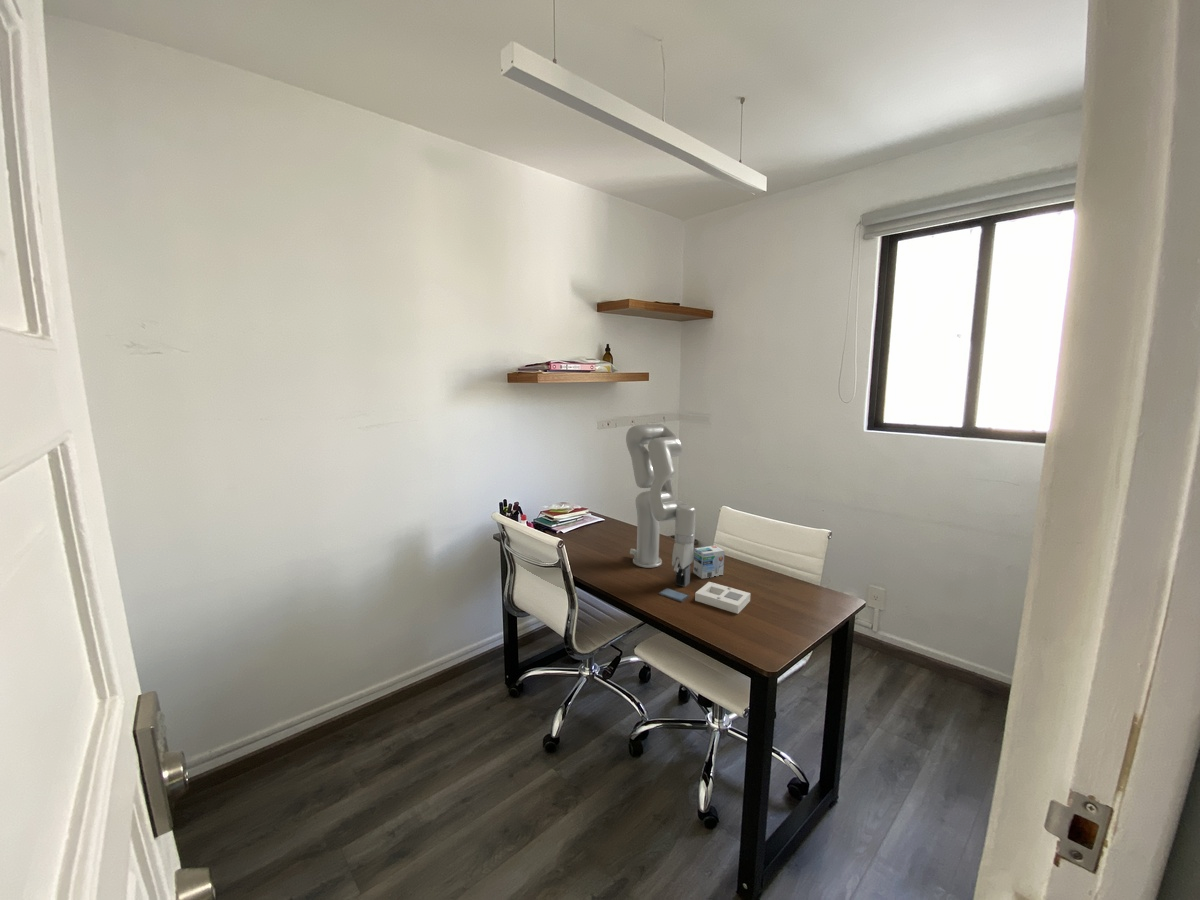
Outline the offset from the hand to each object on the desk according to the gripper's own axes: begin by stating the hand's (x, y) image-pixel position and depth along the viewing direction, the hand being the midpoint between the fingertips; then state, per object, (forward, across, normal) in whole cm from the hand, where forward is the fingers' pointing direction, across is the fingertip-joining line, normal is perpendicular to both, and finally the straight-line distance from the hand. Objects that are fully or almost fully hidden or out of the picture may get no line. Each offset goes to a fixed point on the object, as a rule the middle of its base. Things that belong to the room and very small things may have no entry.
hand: (682, 581), depth 187 cm
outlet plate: (+1, +4, +18) cm, 18 cm away
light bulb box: (+1, -15, +4) cm, 16 cm away
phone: (+1, +11, +2) cm, 11 cm away
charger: (+1, 0, 0) cm, 1 cm away
